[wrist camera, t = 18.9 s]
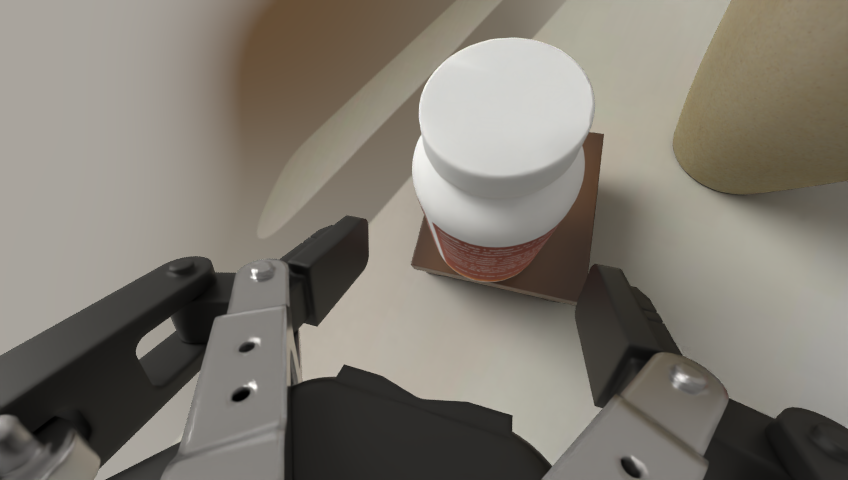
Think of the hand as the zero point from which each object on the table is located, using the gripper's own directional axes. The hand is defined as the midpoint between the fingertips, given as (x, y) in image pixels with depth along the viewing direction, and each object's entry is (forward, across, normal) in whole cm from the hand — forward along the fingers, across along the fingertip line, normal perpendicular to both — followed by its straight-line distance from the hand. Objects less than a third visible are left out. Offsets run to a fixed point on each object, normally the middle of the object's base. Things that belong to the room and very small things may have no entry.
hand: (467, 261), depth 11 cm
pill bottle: (+8, 0, +3) cm, 8 cm away
